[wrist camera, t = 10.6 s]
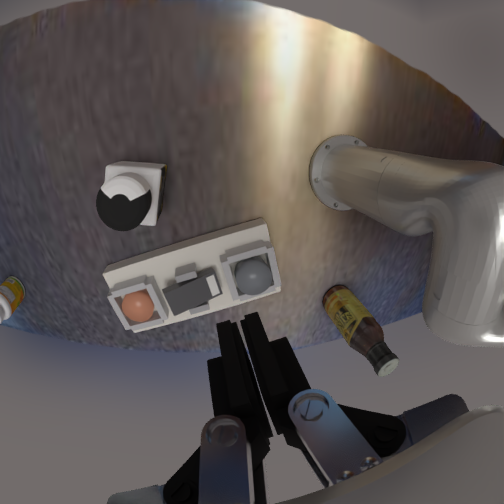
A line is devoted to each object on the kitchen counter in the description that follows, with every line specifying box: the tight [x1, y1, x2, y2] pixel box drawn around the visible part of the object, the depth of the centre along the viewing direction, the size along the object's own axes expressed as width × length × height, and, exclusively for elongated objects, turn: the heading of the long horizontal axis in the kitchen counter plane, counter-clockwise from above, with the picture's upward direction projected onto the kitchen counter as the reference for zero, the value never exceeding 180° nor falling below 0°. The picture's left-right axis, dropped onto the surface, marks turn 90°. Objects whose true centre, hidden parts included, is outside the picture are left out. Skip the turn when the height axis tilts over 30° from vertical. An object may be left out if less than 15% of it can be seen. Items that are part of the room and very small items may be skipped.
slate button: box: [234, 256, 272, 295], centre depth 39 cm, size 5×5×2 cm
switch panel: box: [103, 218, 281, 333], centre depth 40 cm, size 26×12×6 cm, turn 103°
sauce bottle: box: [323, 285, 399, 377], centre depth 42 cm, size 7×6×20 cm
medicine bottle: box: [96, 161, 167, 231], centre depth 31 cm, size 7×7×12 cm
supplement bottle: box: [0, 276, 25, 323], centre depth 32 cm, size 5×5×10 cm
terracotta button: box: [122, 289, 154, 322], centre depth 38 cm, size 5×5×2 cm
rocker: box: [162, 267, 223, 316], centre depth 38 cm, size 8×4×2 cm, turn 103°
